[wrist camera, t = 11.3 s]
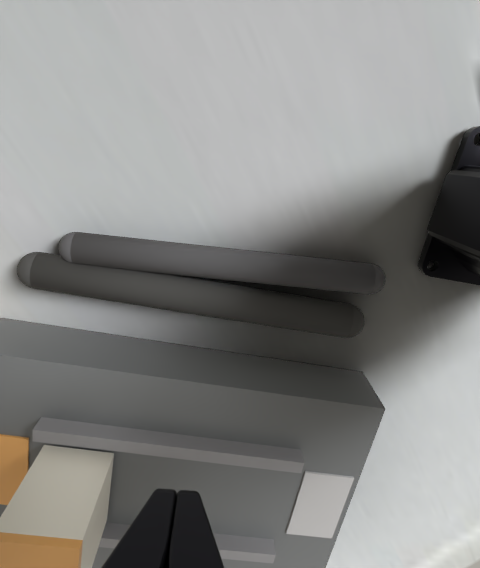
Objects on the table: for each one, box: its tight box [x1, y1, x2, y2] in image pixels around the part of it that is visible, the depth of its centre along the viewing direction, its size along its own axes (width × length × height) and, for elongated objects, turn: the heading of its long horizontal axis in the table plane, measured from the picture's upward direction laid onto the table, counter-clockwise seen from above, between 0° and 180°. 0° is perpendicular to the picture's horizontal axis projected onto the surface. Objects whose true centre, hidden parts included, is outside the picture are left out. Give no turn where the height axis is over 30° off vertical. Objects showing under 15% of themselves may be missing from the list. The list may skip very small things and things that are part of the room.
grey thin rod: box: [59, 232, 385, 294], centre depth 17 cm, size 14×1×1 cm, turn 83°
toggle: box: [0, 445, 114, 568], centre depth 15 cm, size 3×4×4 cm
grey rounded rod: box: [17, 252, 364, 338], centre depth 17 cm, size 16×2×2 cm, turn 79°
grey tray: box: [0, 318, 385, 568], centre depth 19 cm, size 18×12×4 cm, turn 79°
